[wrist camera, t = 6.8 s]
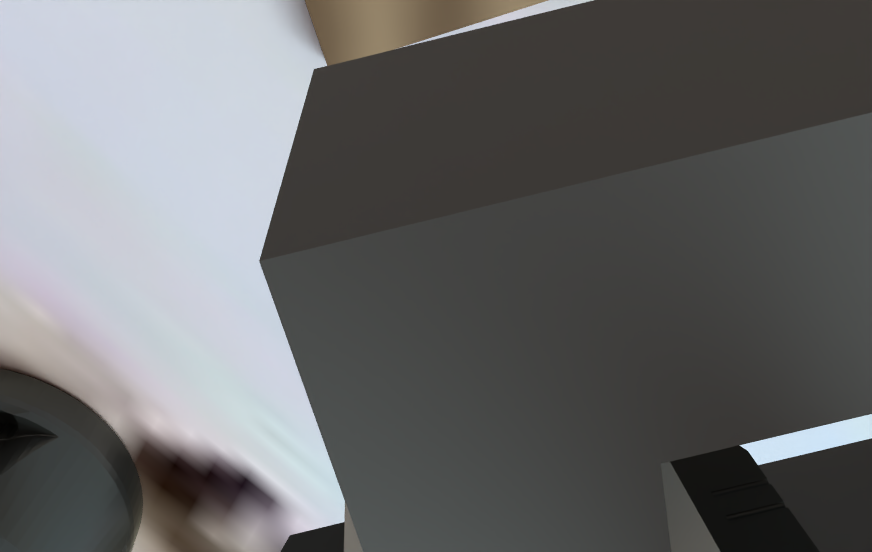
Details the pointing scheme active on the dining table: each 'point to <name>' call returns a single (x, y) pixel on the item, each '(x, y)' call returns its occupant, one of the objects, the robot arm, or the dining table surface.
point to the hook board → (395, 22)
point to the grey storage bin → (584, 269)
